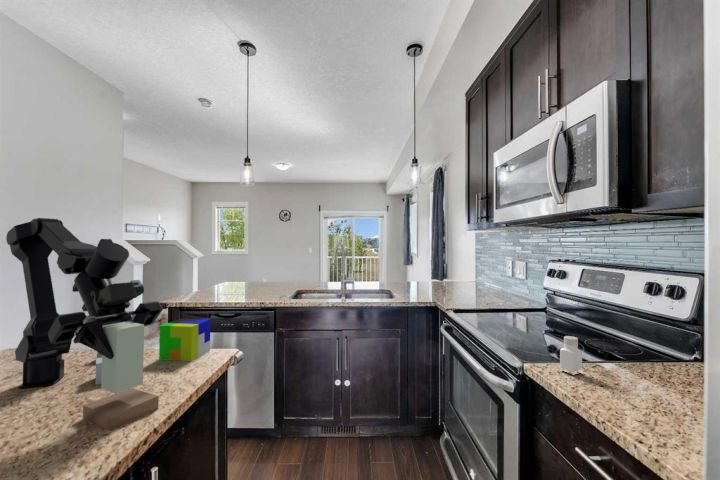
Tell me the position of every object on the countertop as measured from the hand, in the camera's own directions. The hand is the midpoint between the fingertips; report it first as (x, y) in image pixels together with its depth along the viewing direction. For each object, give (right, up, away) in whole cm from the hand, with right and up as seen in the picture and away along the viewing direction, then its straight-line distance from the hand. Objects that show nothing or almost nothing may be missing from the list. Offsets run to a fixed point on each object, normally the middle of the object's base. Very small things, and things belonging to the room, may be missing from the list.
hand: (127, 353), depth 67 cm
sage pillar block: (-1, -7, 0) cm, 7 cm away
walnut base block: (-1, -12, 0) cm, 13 cm away
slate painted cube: (-17, -12, +18) cm, 27 cm away
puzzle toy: (-7, -13, +37) cm, 40 cm away
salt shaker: (+103, -14, +25) cm, 107 cm away
